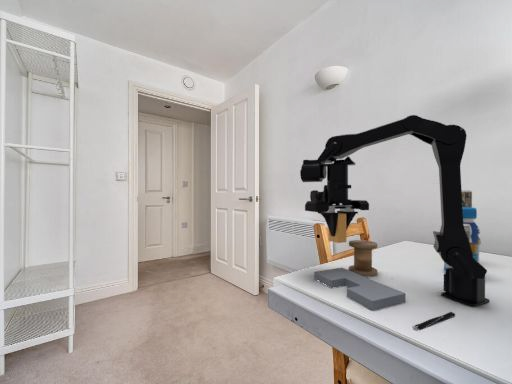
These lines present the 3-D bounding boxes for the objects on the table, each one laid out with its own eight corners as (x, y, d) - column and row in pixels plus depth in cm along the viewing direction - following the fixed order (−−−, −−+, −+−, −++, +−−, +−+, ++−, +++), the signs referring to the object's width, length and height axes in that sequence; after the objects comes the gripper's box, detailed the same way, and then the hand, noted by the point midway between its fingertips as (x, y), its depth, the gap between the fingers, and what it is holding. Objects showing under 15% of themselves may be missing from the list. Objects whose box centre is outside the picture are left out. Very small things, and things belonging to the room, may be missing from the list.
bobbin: (383, 274, 73) (383, 244, 73) (363, 278, 70) (363, 246, 70) (362, 266, 80) (362, 239, 80) (343, 269, 77) (343, 241, 77)
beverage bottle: (436, 272, 75) (436, 206, 75) (454, 269, 78) (454, 206, 78) (468, 281, 67) (469, 208, 67) (487, 277, 70) (487, 207, 70)
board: (405, 302, 55) (405, 293, 55) (372, 310, 51) (372, 301, 51) (341, 274, 73) (341, 267, 73) (314, 278, 69) (314, 271, 69)
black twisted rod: (417, 333, 43) (416, 327, 43) (411, 330, 44) (411, 324, 44) (455, 318, 49) (455, 312, 49) (449, 315, 50) (449, 310, 50)
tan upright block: (346, 242, 69) (346, 213, 69) (337, 243, 68) (337, 214, 68) (336, 239, 73) (336, 212, 73) (328, 240, 72) (328, 213, 72)
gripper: (343, 182, 82) (343, 229, 82) (294, 182, 74) (294, 233, 74) (370, 181, 71) (370, 235, 71) (317, 180, 64) (317, 240, 64)
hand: (337, 235), depth 71 cm, fingers closed on tan upright block, 3 cm apart
